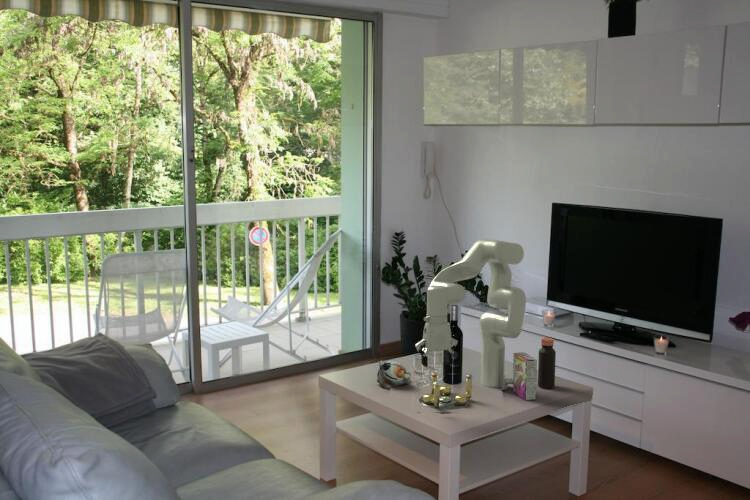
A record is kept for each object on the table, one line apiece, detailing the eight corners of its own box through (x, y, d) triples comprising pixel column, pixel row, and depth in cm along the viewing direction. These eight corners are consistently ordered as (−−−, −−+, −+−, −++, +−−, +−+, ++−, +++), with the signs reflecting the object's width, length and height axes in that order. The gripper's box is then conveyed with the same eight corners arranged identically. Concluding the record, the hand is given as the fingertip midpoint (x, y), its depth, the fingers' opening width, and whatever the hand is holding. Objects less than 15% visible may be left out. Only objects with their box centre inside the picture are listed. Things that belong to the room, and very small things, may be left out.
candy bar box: (512, 392, 314) (512, 352, 312) (523, 391, 315) (524, 351, 313) (525, 401, 303) (526, 360, 301) (536, 399, 305) (537, 359, 302)
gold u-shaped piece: (445, 391, 310) (445, 368, 308) (453, 394, 306) (453, 370, 305) (427, 396, 304) (428, 372, 302) (435, 399, 300) (435, 375, 299)
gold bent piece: (463, 406, 292) (463, 381, 291) (452, 403, 295) (453, 379, 294) (475, 399, 300) (475, 375, 299) (465, 397, 303) (465, 373, 301)
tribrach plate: (470, 396, 309) (471, 389, 308) (471, 414, 289) (471, 406, 289) (420, 395, 311) (420, 388, 310) (417, 412, 291) (417, 405, 291)
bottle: (557, 386, 321) (559, 339, 318) (548, 390, 316) (549, 342, 314) (543, 382, 326) (545, 336, 323) (534, 386, 321) (535, 339, 318)
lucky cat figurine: (415, 382, 327) (418, 358, 319) (402, 400, 318) (405, 376, 310) (384, 368, 332) (386, 344, 324) (370, 386, 324) (372, 362, 315)
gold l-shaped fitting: (421, 401, 298) (421, 377, 297) (431, 399, 300) (431, 375, 298) (432, 409, 289) (432, 384, 288) (443, 407, 291) (443, 382, 290)
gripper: (420, 323, 280) (420, 369, 282) (462, 319, 287) (461, 364, 289) (411, 319, 287) (410, 364, 289) (452, 315, 294) (451, 359, 296)
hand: (436, 364), depth 289 cm, fingers open, 9 cm apart
